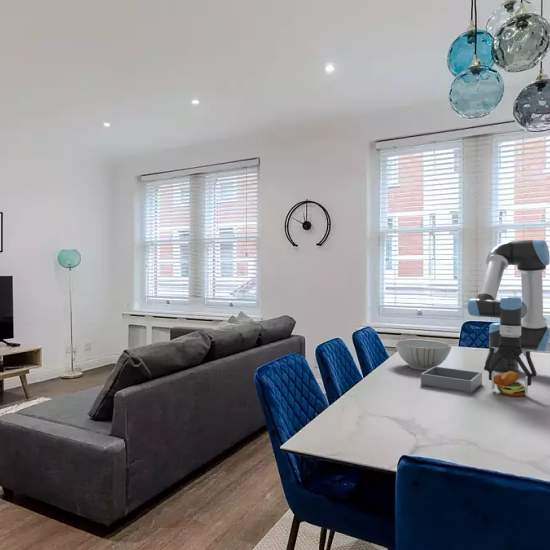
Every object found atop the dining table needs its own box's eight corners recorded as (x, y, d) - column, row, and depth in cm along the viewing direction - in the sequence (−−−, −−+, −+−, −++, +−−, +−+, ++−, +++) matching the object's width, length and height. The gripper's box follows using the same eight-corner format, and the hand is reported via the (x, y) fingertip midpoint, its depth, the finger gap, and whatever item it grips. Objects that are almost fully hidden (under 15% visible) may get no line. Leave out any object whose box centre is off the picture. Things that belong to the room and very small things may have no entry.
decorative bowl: (423, 375, 204) (423, 349, 204) (383, 364, 228) (384, 341, 228) (463, 370, 217) (463, 345, 217) (421, 360, 241) (422, 338, 240)
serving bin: (434, 377, 202) (434, 366, 202) (481, 384, 190) (481, 372, 190) (420, 385, 187) (420, 373, 187) (471, 393, 175) (471, 381, 175)
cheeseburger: (531, 398, 169) (525, 372, 169) (502, 402, 171) (496, 377, 172) (522, 390, 179) (516, 366, 179) (494, 395, 181) (489, 371, 181)
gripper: (476, 334, 179) (475, 388, 179) (543, 339, 165) (542, 398, 165) (480, 332, 185) (479, 384, 185) (545, 337, 171) (544, 394, 171)
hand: (509, 391), depth 175 cm, fingers closed on cheeseburger, 11 cm apart
